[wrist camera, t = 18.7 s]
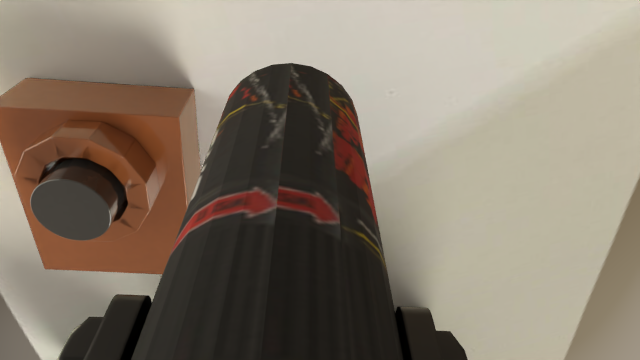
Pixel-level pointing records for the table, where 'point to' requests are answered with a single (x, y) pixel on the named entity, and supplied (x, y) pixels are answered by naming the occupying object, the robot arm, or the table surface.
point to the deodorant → (278, 236)
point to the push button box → (107, 163)
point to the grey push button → (77, 199)
